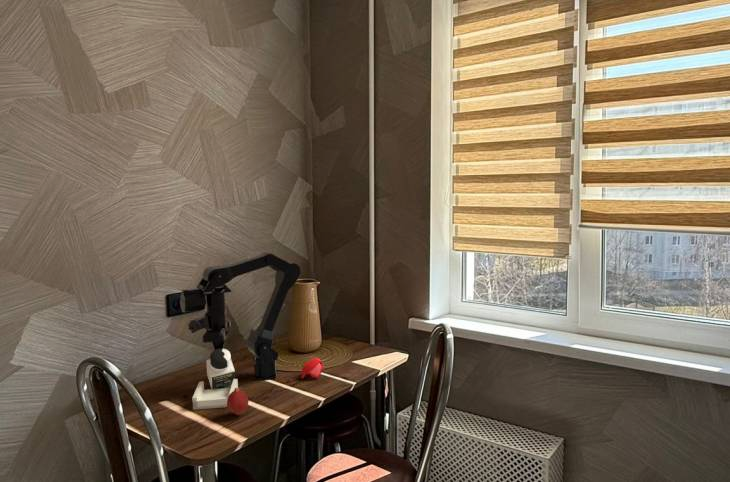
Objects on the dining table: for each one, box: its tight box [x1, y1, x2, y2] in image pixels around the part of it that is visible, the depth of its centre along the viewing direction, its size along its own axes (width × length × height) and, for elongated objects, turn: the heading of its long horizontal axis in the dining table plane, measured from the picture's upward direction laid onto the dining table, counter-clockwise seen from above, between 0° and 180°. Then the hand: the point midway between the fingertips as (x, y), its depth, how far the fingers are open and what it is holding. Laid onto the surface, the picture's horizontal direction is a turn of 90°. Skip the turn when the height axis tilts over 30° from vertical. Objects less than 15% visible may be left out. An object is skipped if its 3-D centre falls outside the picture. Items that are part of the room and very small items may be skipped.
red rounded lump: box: [226, 387, 249, 416], centre depth 159 cm, size 6×6×8 cm
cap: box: [301, 357, 324, 380], centre depth 187 cm, size 8×6×6 cm
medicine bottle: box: [206, 348, 236, 389], centre depth 178 cm, size 7×7×12 cm
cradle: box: [192, 378, 239, 411], centre depth 171 cm, size 11×13×4 cm
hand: (218, 356), depth 180 cm, fingers closed
